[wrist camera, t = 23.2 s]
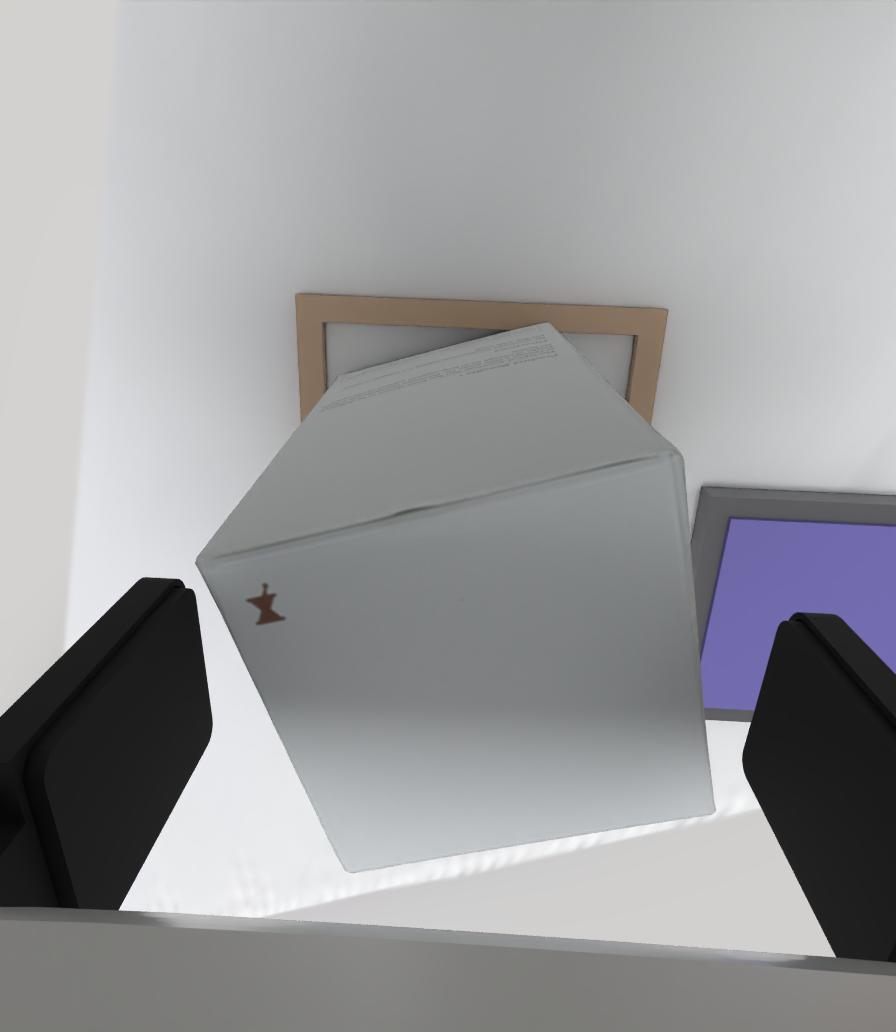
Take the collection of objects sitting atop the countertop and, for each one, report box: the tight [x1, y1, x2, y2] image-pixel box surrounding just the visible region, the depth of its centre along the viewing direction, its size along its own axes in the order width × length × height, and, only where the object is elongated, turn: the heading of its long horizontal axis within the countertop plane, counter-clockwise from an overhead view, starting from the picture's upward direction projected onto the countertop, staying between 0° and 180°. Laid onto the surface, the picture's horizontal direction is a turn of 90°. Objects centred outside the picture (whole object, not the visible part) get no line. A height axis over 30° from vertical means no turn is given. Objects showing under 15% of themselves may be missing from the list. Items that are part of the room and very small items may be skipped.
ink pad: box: [691, 487, 896, 722], centre depth 23 cm, size 9×9×1 cm
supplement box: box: [195, 322, 716, 873], centre depth 16 cm, size 7×7×13 cm
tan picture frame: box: [295, 294, 668, 425], centre depth 22 cm, size 12×12×1 cm
